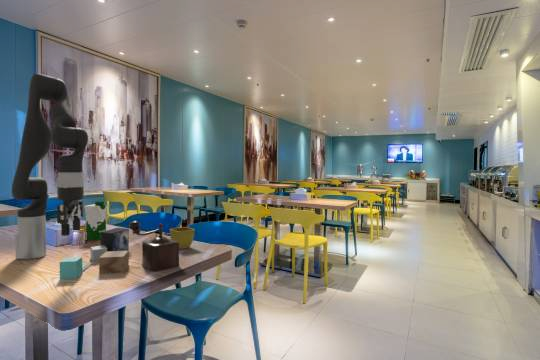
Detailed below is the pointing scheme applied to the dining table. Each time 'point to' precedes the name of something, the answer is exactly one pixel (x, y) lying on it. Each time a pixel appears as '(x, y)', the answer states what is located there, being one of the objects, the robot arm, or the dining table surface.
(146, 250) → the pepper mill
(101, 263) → the walnut base
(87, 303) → the dining table surface
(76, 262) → the teal block
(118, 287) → the dining table surface
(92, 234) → the milk carton
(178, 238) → the flower pot
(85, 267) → the tile
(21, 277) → the dining table surface
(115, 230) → the small box
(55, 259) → the dining table surface
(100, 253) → the grey block
